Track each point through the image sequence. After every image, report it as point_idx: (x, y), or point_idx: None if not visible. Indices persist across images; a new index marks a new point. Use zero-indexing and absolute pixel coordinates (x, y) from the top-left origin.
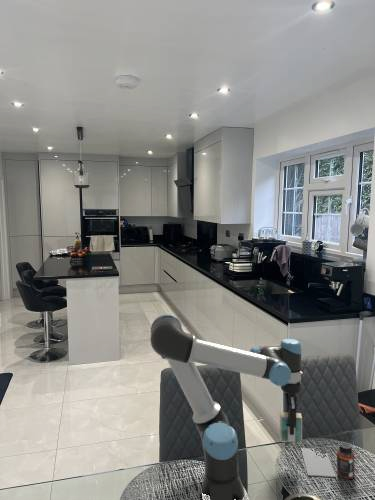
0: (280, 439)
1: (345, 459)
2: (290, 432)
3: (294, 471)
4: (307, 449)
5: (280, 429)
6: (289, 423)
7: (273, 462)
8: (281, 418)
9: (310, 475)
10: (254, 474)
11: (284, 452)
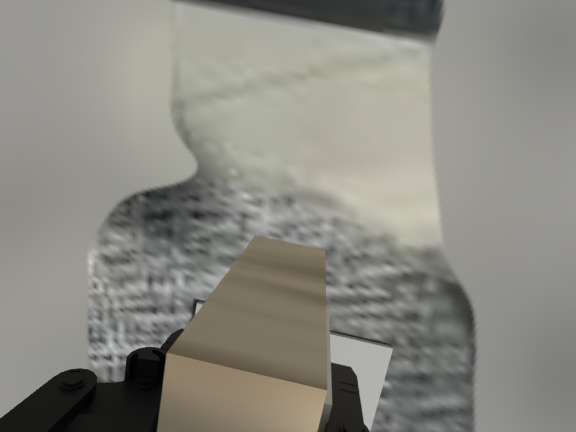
0: (271, 240)
1: None
2: (164, 343)
3: (230, 254)
4: (375, 375)
5: (257, 269)
6: (17, 406)
7: (305, 174)
8: (178, 345)
9: (196, 312)
10: (224, 49)
11: (377, 255)
